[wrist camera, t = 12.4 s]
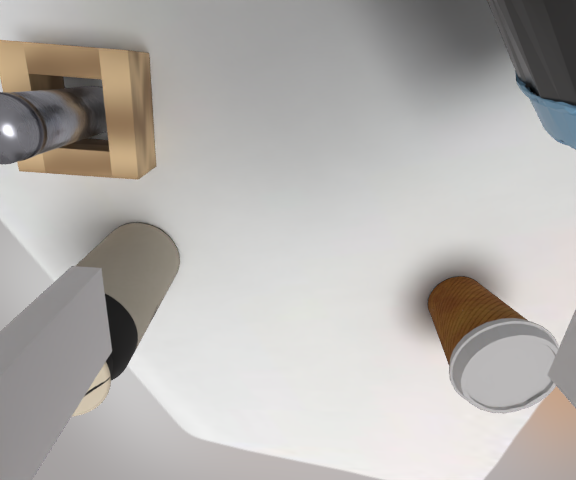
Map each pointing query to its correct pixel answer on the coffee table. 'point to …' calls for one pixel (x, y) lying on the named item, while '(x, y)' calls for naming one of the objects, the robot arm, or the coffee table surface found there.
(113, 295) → the travel mug
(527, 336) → the disposable coffee cup
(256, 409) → the coffee table surface
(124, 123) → the square frame
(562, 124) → the robot arm
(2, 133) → the metal canister
